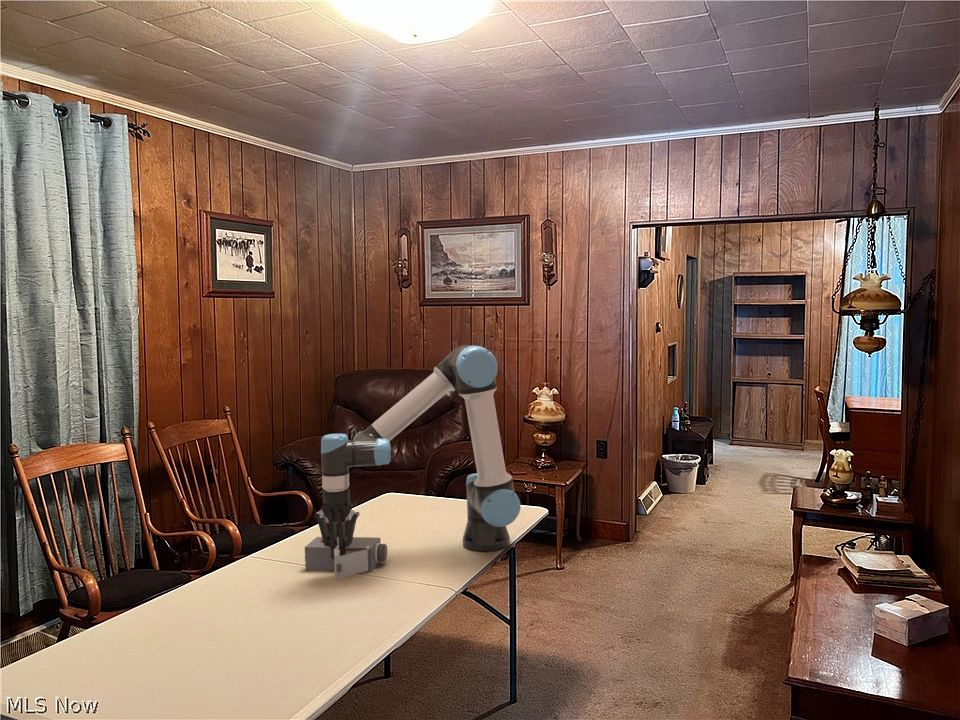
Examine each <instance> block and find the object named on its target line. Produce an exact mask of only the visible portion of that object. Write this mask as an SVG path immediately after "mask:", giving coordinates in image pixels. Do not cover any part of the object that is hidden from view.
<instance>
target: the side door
mask: <svg viewBox="0 0 960 720" xmlns="http://www.w3.org/2000/svg"><path fill="white" fill-rule="evenodd" d="M334 560H335V571H334V578H335V580H337V579H342V578H346V577H350V576H352V575H356V574H360V573H366V572H365V571H368V550H362V551H358V552H354V553H350V554H346V555H341V556H337V557H334Z"/></svg>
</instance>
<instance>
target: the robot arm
mask: <svg viewBox="0 0 960 720" xmlns="http://www.w3.org/2000/svg"><path fill="white" fill-rule="evenodd" d="M498 365H499V364H498V361H497V359H496V356H495V355H493V353H492V352H491V351H489V349H487V348H485V347H483V346H480V345H470V344H469V345H467V344H464V345H460V346H458V347H456V348H455V349H453V350H452V351H451V352H450V353H448V354H447V356H445V358H443V359H442V360H441V361H440V362H439V363H438V364H437V365H435V367H434V368H433V372H432V373H431V374H430V375H428V376H427V377H426V378H425V379H424V380H422V382H421V383H419V384H418V385H417V386H416V387H414V388H413V389H411V391H409V392H408V393H407V394H406V395H405V396H404V397H402V398H401V399H399V401H398V402H396V403H395V404H394V405H393V406H391V408H390V409H388V410H387V411H386V412H384V413H383V414H381V416H380V417H379V418H377V419H376V420H375V421H374V422H373V423H372V424H370V425H369V426H368V427H366V429H364V430H362V431H359V432H357V433H356V434H355V435H354V437H353V439H352V440H349V438H348V435H347V434H346V433H328V434H325V435H323V436H322V437H321V440H320V445H321V446H320V454H321V455H320V457H321V462H320V463H321V484H322V485H321V487H322V489H323V490H322V507H321V508H322V510H321V511H320V510H319V511H317V512H316V513H315V514H314V515H313V516H314V518H315V520H316V521H317V523H318V527H319V528H318V529H319V530H320V535H321V537H322V539H323V542H324V546H328V547H330V548H331V558H332V559H334V557H337V556H341V555H346V551H345V547H348V546H349V545H350V544H351V543H352V539H353V537H354V534H355V528H356V524H357V520H358V518H359V516H360V512H359V511H355V510H353V507H352V505H351V499H350V498H351V497H350V496H351V495H350V494H351V493H350V492H351V491H350V488H349V487H350V470H349V469H350V468H355V467H370V466H371V467H373V466H378V467H379V466H382V465H388V464H390V462H391V460H392V459H391V458H392V454H391V453H392V452H391V450H392V449H391V442H390V441H392V440H393V439H394V438H395V437H396V436H397V435H399V434H400V433H401V432H402V431H403V430H405V429H406V428H407V427H408V426H409V425H410V424H412V423H413V422H414V421H416V419H418V418H419V417H420V416H421V415H422V414H423V413H425V412H426V411H427V410H429V408H431V407H432V406H433V405H434V404H435V403H437V402H438V401H439V400H441V398H443V397H444V396H445V395H446V394H447V393H448V392H455V391H456V390H457V393H458V395H459V396H460V397H462V398H463V399H464V403H465V408H466V414H467V420H468V426H469V427H468V428H469V432H470V438H471V444H472V449H473V455H474V460H475V467H476V473H471V474H469V475H467V477H466V484H465V486H466V506H467V507H466V509H467V510H466V512H467V513H466V514H467V520H466V521H467V522H466V526H465V528H464V529H465V530H464V532H463V537H462V546H463V548H464V549H467V550H469V551H470V550H471V551H475V552H495V551H499V550H504V549H506V548H507V547H509V546H510V545H511V537H510V534H509V530H508V527H507V526H508V525H511V524H512V523H513V522H514V521H515V520H516V519H517V517H518V516H519V514H520V513H521V512H520V511H521V501H520V498H519V496H518V494H517V493H516V492H515V487H514V482H513V481H514V480H513V476H512V475H511V474H509V473H508V472H507V469H506V463H505V458H504V453H503V446H502V439H501V435H500V428H499V421H498V415H497V410H496V403H495V398H494V393H495V392H496V391H497V389H498V383H497V379H496V377H497V375H498V371H499V370H498V369H499V368H498ZM349 513H350V517H349V518H350V523H349V527H348V532H347V537H346V535H345V521H346V520H345V519H346V518H347V516H348V515H349ZM324 514H325V516H326V517H327V518H328V520H329V526H330V536H329V532H328V529H327V525H326V521H325V518H324ZM336 523H338V533H339V546H337V545H338V543H337V526H336ZM334 561H335V560H334Z"/></svg>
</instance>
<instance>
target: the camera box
mask: <svg viewBox="0 0 960 720" xmlns="http://www.w3.org/2000/svg"><path fill="white" fill-rule="evenodd" d="M381 542H382V541H381V537H370V536H369V537H365V536H364V537H361V536H360V537H357V536H355V537H354V536H353V539H352V543H351V544H350V545H349V546H348V547H345V551H346V554H350V553H354V552H358V551H362V550H368V571H365V572H364V573H372V572H373V571H374V569H376V568H377V566H379V564H380V563H385V562H387V558H388V545H387V544H386V543H381ZM337 543H338V545H337V546H339V537H337ZM304 562H305V571H307V572H308V571H310V572H311V571H314V572H317V571H318V572H335V561H334V559H332V558H331V548H330V547H328V546H324V542H323V539H322V536H316V537H315V538H313V539H312V540H311V541H310V542H309V543H307V545H305V546H304Z"/></svg>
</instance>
